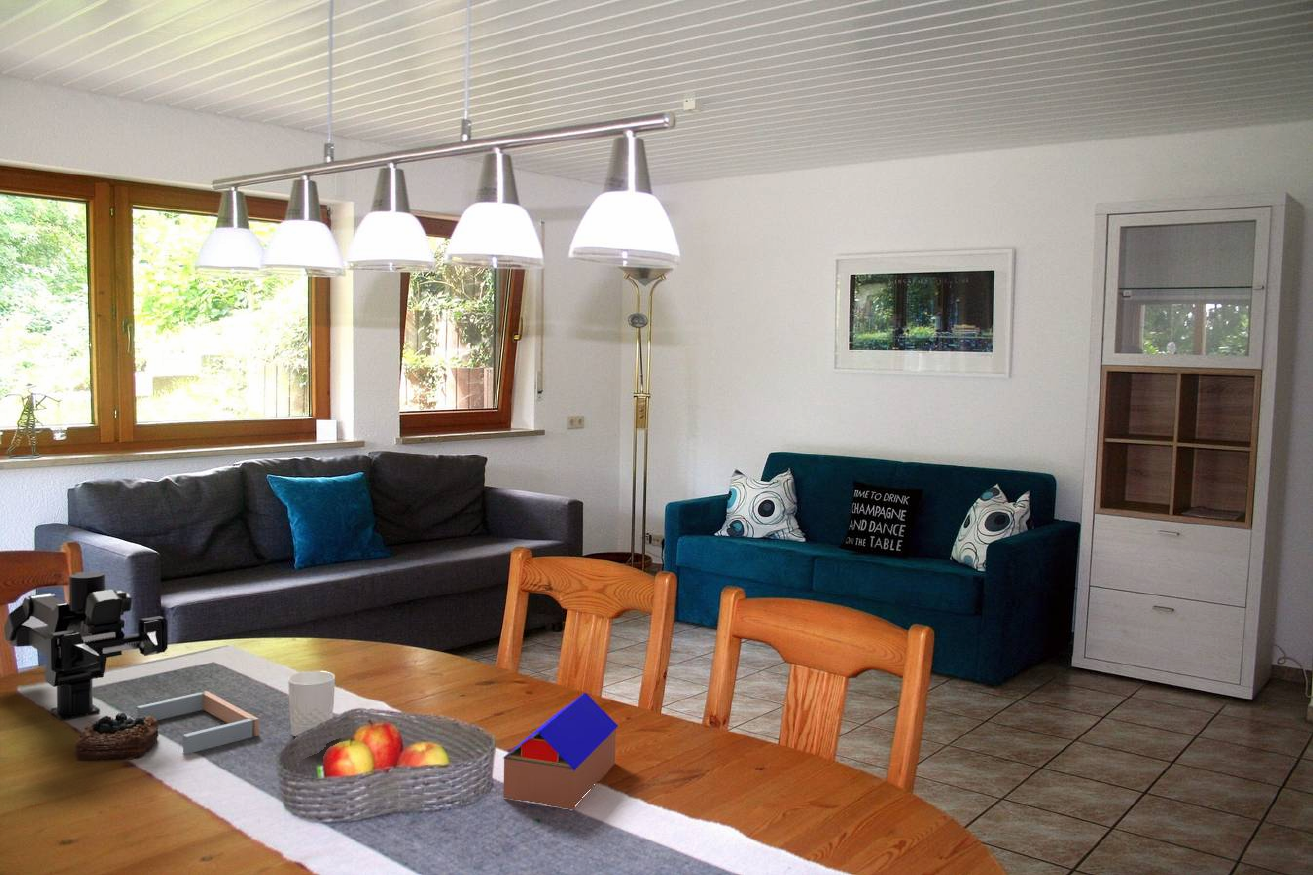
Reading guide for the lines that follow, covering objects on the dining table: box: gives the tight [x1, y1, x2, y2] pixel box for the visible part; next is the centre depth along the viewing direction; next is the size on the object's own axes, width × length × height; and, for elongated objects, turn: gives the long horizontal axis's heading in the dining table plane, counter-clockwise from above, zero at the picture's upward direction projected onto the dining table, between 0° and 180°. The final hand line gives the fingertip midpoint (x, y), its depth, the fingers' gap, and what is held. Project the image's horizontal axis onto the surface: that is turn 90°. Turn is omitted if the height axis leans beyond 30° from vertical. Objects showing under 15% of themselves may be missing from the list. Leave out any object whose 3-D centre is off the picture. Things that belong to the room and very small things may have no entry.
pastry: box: [75, 712, 159, 762], centre depth 173 cm, size 11×12×6 cm
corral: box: [136, 690, 260, 755], centre depth 183 cm, size 20×13×3 cm, turn 48°
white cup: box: [287, 670, 336, 737], centre depth 183 cm, size 8×8×10 cm
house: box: [502, 692, 619, 810], centre depth 165 cm, size 12×20×12 cm, turn 163°
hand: (128, 653), depth 172 cm, fingers open, 9 cm apart
